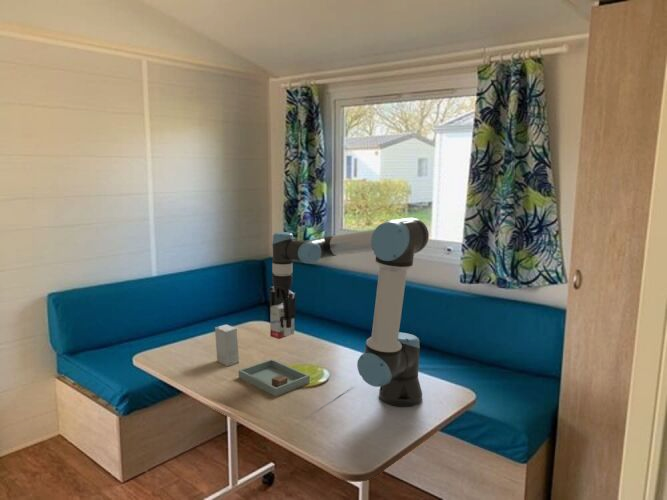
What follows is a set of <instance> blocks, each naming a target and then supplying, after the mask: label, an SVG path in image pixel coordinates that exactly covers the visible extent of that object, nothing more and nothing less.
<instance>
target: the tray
mask: <svg viewBox="0 0 667 500" xmlns="http://www.w3.org/2000/svg"><path fill="white" fill-rule="evenodd" d="M278 375H281V376H284V377H287V378H288V383H287V384H284V385H282V386H279V387H274V386H272V378H274V377H276V376H278ZM238 378H239V379H241V380H243V381H245V382H246V383H249V384H250V385H252V386H254V387H256V388H258V389H260V390H262V391H264V392H266V393H268V394H269V395H272V396H273V397H279V396H281V395H284V394H286V393H288V392H291V391H294V390H296V389H298V388H301V387H303V386H305V385H309V383H311V381H310V379H311V377H310V374H308V373H305V372H302V371H300V370H298V369H296V368H293V367H292V366H288V365H287V364H284V363H282V362H280V361H277V360H276V359H273V358H271V359H267V360H265V361H262V362H259V363H256V364H253V365H251V366H247V367H245V368H242V369H239V370H238Z"/></svg>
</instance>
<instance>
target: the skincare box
mask: <svg viewBox="0 0 667 500" xmlns="http://www.w3.org/2000/svg"><path fill="white" fill-rule="evenodd" d="M214 334H215V349H216V350H215V351H216V361H217V362H218V363H221V364H223V365H224V366H226V367H228V366H231V365H236V364H239V363H240V361H239V345H238V344H239V343H238V340H239V339H238V329H237V327H234V326H232V325H229V324H227V323H226V324H223V325H219V326H215V327H214Z"/></svg>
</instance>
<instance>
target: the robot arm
mask: <svg viewBox="0 0 667 500" xmlns="http://www.w3.org/2000/svg"><path fill="white" fill-rule="evenodd" d="M429 233H430V232H429V229H428V227H427V226H426V224H425V223H424V222H423V221H421V220H420V219H418V218H414V217H406V218H405V217H404V218H399V219H390V220H386V221H385V222H382V223H380V224H379V225H378V226H377V227H376V228H375V229H369V230H364V231H363V230H362V231H356V232H350V233H343V234H338V235H329V236H324V237H319V238H314V239H308V240H298V239H294V234H293V233H291V232H290V231H278V232H274V234H273V235H272V244H271V246H272V261H271V262H272V264H271V265H272V266H271V267H272V268H271V269H272V270H271V271H272V276H271V277H272V278H271V279H272V281H271V282H272V285H273V286H270V287H269V288H268V290H269V312H271V306H274V305H277V304H281V303H283V307H284V313H285V319H284V336H287V337H289V336H288V335H290V336H292V335H291V319H293V318H294V319H296V297H297V293H296V292H293V291H292V288H291V285H293V281H294V280H293V278H294V277H293V271H294V270H293V266H294V265H293V263H294V261H295V262H299V263H304V264H312V265H313V264H316V263H317V262H318V261H319V260H320V259H325V258H332V257H337V256H346V255H353V254H362V253H371V252H373V254H374V256H375V263H376V264H377V265H378V266H379V270H378V277H377V285H376V295H375V305H374V312H373V320H372V321H373V322H372V329H371V330H372V331H371V336H370V337H368V338H367V339H366V341H365V350H364V353H362V354H361V355H360V356H359V357H358V359H357V371H358V373H359V375H360V376H361V378H362V380H363V381H364V382H365V383H366V384H367V385H369V386H372V387H375V388H376V387H377V388H378V389H379V390H378V397H379V399H380V400H381V401H382V402H383V403H385V404H388V405H390V406H393V407H401V408H402V407H403V408H406V407H413V405H414V406H417V405H419V404H420V403H421V402H422V401H423V390H422V387H421V384H420V380H419V367H420V366H419V365H420V348H421V347H420V339H419V337H417V336H416V335H414V334H410V333H407V332H401V331H400V325H401V320H402V310H403V304H404V296H405V288H406V281H407V280H406V279H407V272H408V270H409V269H410V268H412V267H413V265H414V259H415V257H414V256H415V254H417V253H419V252H421V251H422V250H424V249H425V247H426V246H427V244H428V242H429V235H430V234H429ZM418 403H419V404H418ZM416 404H417V405H416Z"/></svg>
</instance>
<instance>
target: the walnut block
mask: <svg viewBox="0 0 667 500" xmlns="http://www.w3.org/2000/svg"><path fill="white" fill-rule="evenodd" d="M287 383H288V378H287V377H284V376H281V375H278V376H276V377H274V378H272V386H274V387H279V386H282V385H284V384H287Z"/></svg>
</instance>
